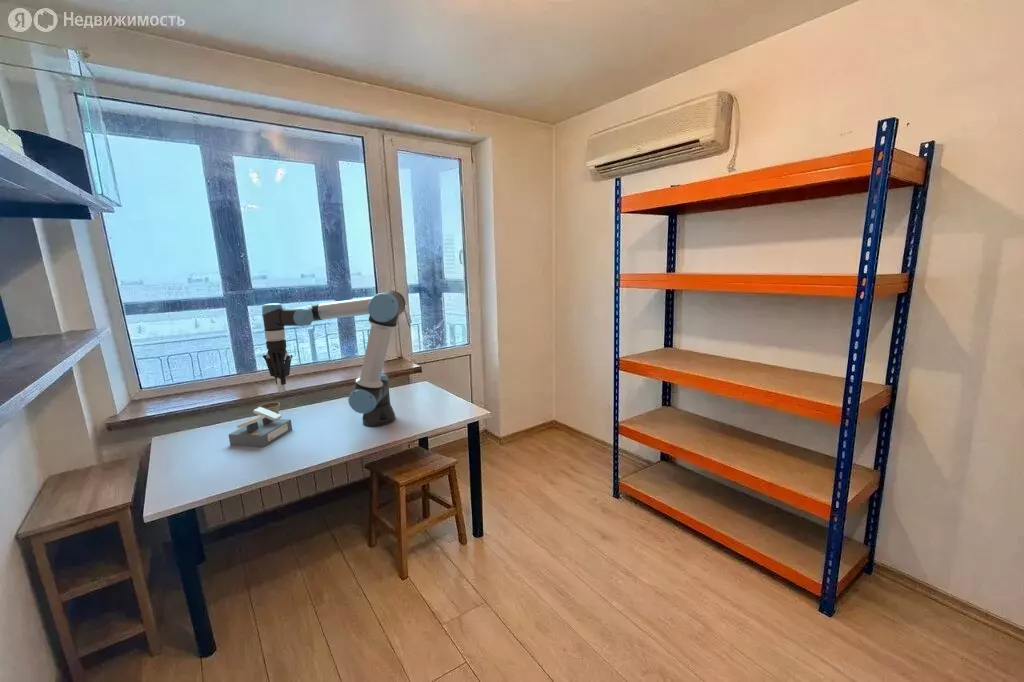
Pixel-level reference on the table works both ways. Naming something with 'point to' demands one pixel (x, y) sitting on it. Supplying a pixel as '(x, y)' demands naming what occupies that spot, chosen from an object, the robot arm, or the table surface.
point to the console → (260, 433)
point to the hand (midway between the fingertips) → (281, 391)
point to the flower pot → (271, 406)
